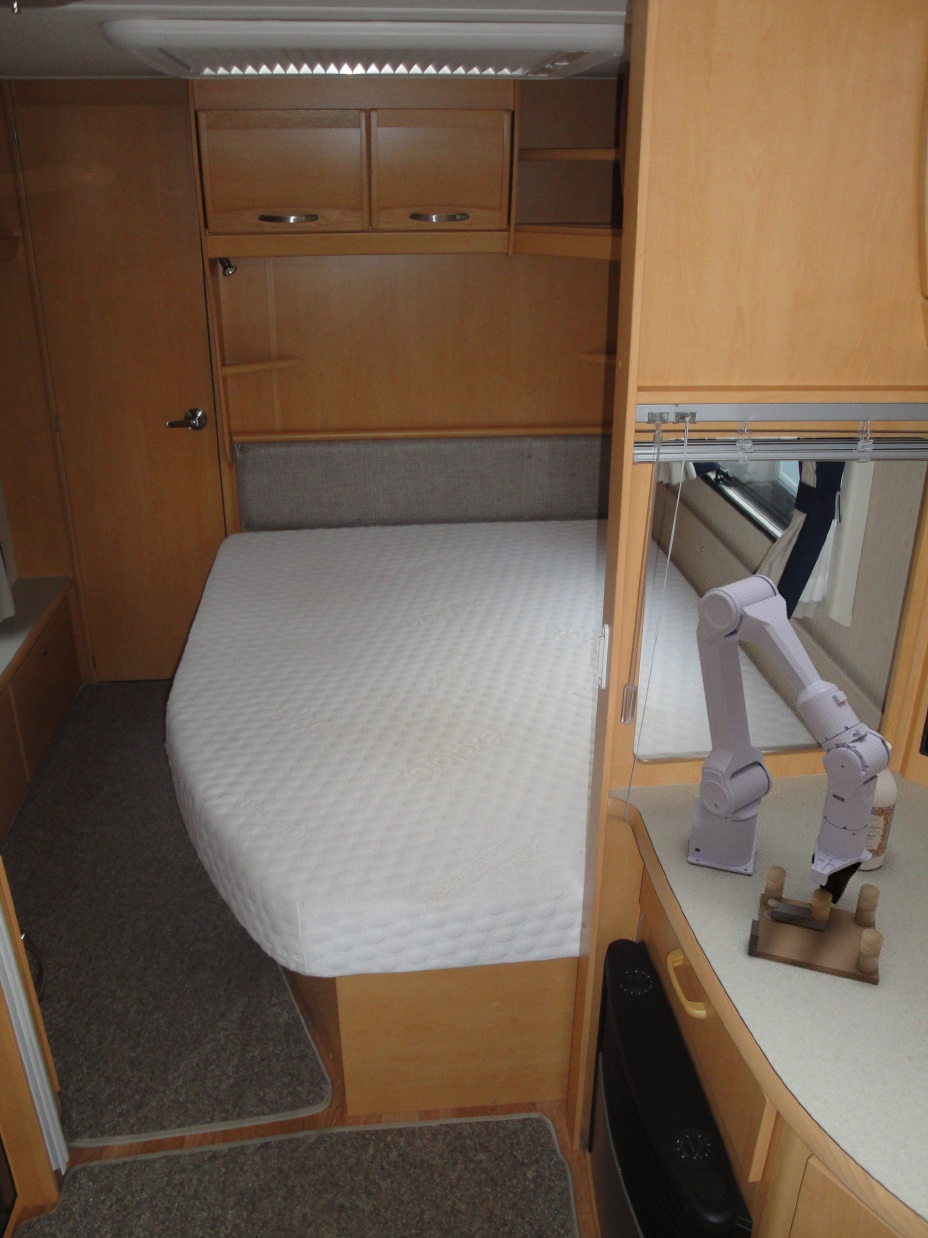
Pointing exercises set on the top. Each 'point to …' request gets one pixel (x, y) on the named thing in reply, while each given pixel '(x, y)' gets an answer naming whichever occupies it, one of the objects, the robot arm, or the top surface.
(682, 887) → the top surface
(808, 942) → the stool board
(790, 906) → the grey bar with knob
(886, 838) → the bath foam
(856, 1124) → the top surface
